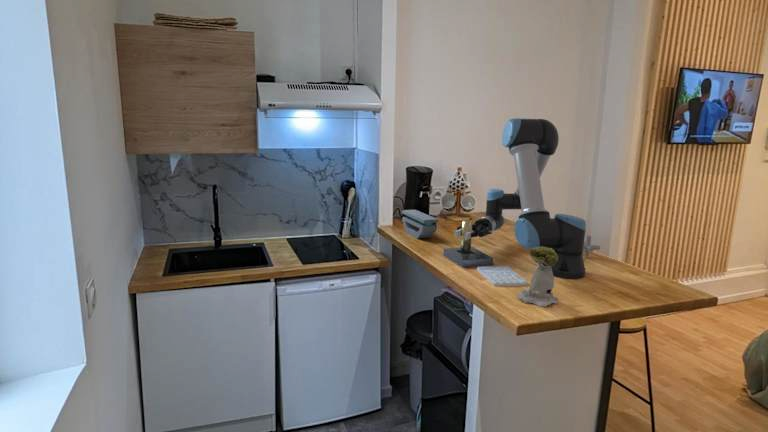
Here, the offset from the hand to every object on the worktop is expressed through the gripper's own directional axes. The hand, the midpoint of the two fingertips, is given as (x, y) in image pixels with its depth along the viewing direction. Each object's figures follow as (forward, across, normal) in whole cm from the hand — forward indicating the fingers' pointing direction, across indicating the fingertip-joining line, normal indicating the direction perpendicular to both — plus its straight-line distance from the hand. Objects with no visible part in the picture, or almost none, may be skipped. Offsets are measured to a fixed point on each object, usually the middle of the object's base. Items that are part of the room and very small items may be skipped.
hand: (460, 235), depth 202 cm
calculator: (+8, -22, -12) cm, 26 cm away
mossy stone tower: (+22, -41, -11) cm, 48 cm away
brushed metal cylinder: (-5, 0, -7) cm, 9 cm away
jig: (-4, -2, -11) cm, 12 cm away
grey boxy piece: (-26, +37, -12) cm, 47 cm away
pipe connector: (-42, -41, -11) cm, 60 cm away
